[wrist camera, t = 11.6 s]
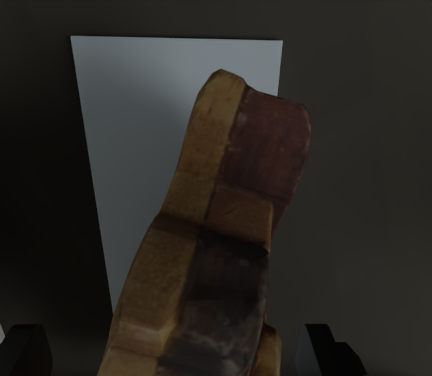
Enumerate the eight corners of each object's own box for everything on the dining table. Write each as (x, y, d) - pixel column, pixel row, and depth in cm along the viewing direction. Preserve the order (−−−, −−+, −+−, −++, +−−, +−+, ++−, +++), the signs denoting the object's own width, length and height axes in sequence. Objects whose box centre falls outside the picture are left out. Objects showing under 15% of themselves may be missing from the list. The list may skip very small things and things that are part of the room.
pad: (72, 35, 11) (70, 35, 11) (281, 40, 12) (282, 40, 11) (123, 369, 19) (122, 373, 19) (248, 368, 19) (249, 372, 19)
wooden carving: (202, 372, 19) (200, 688, 10) (119, 363, 18) (38, 687, 10) (294, 67, 12) (566, 226, 3) (163, 37, 11) (5, 120, 2)
